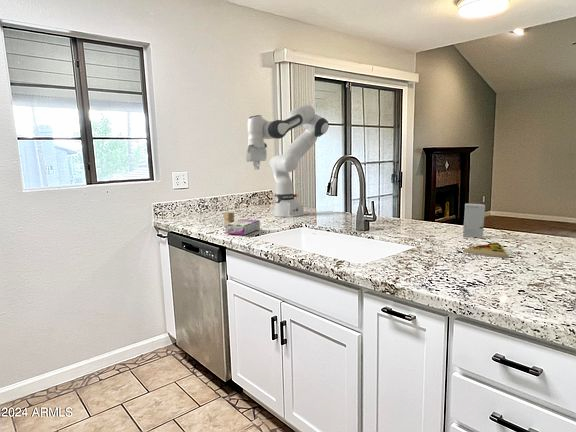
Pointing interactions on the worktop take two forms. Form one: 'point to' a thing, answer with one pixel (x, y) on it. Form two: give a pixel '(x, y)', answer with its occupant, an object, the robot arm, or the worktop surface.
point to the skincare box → (474, 220)
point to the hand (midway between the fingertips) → (256, 169)
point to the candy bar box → (242, 226)
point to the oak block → (228, 217)
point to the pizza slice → (488, 250)
